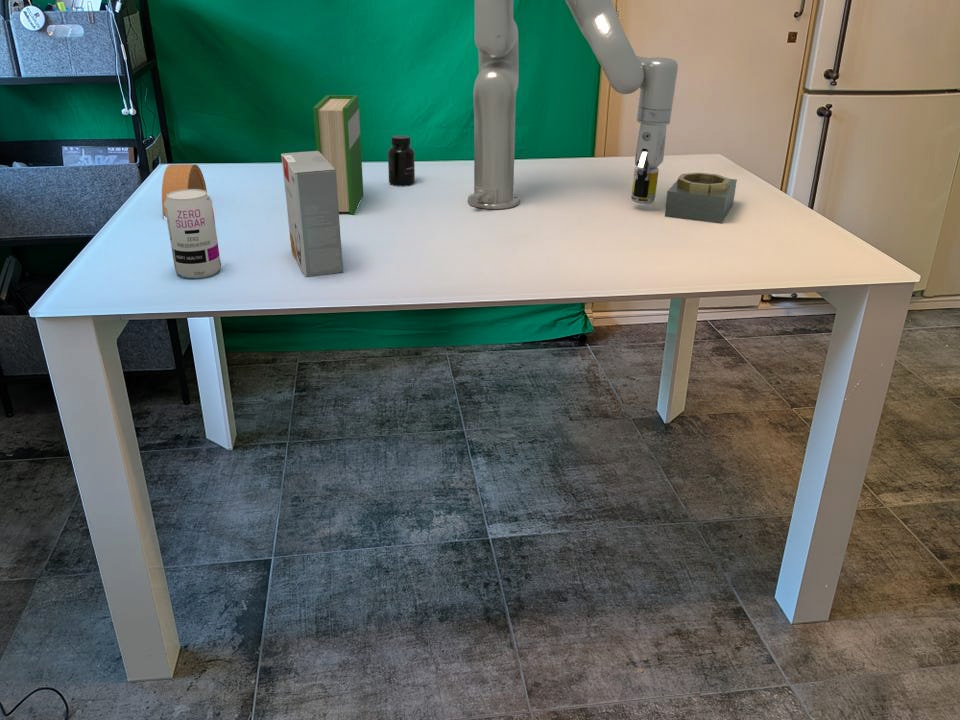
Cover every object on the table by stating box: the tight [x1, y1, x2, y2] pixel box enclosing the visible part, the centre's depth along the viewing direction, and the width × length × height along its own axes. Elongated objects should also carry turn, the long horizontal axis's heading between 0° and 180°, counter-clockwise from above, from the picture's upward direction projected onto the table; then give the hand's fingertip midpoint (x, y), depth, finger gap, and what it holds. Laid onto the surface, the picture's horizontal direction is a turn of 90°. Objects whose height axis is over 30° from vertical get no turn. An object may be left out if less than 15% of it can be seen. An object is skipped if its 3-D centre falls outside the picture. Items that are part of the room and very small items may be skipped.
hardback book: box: [312, 94, 364, 216], centre depth 191 cm, size 18×7×24 cm, turn 0°
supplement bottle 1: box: [387, 134, 416, 187], centre depth 212 cm, size 7×7×12 cm
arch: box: [161, 163, 208, 218], centre depth 191 cm, size 6×20×10 cm, turn 4°
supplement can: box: [164, 189, 222, 280], centre depth 151 cm, size 8×8×15 cm
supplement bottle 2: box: [630, 159, 660, 205], centre depth 193 cm, size 6×6×10 cm
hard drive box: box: [280, 150, 344, 278], centre depth 156 cm, size 16×8×20 cm, turn 21°
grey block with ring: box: [664, 172, 738, 225], centre depth 195 cm, size 22×13×8 cm, turn 157°
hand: (643, 192), depth 194 cm, fingers closed on supplement bottle 2, 5 cm apart
